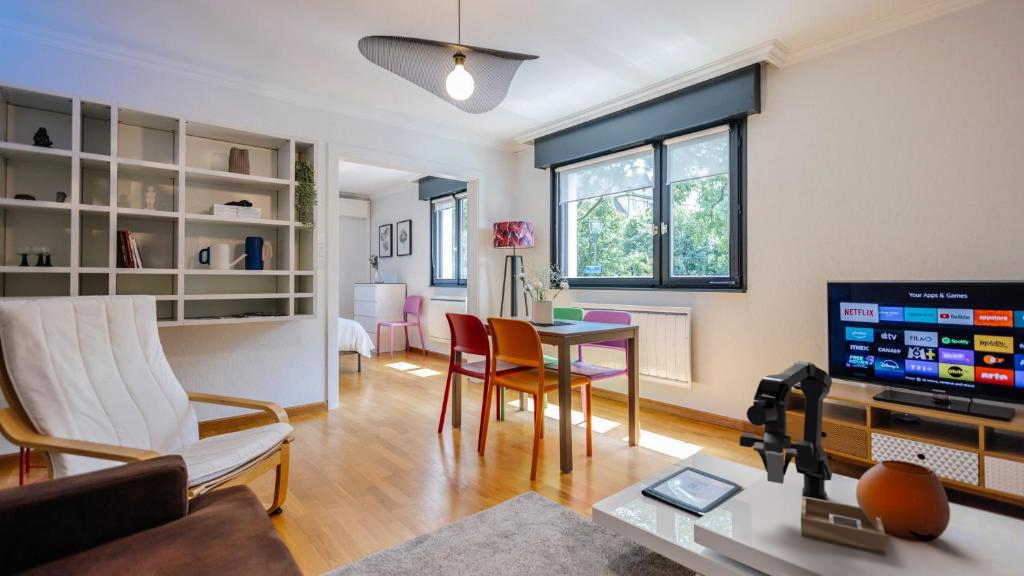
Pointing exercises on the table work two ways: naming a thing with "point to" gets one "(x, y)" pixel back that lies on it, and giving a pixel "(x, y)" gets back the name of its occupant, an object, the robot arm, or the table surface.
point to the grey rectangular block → (775, 467)
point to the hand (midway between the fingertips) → (775, 473)
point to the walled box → (841, 526)
